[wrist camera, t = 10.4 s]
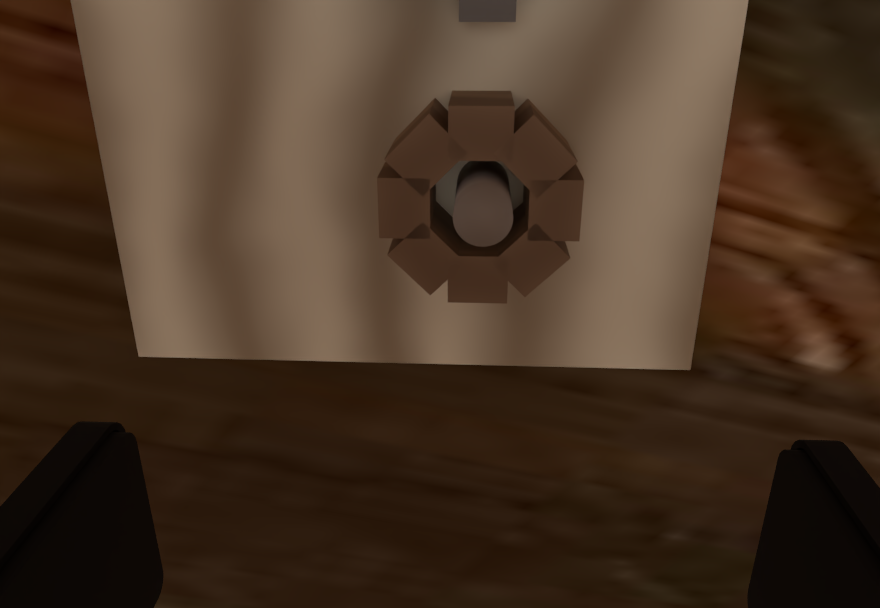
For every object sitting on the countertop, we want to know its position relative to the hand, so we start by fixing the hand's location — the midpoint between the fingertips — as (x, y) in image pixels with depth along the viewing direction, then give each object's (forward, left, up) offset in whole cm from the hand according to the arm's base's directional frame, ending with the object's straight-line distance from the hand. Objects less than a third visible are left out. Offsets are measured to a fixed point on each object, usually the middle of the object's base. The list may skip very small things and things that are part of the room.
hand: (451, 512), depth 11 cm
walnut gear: (0, 0, -19) cm, 19 cm away
